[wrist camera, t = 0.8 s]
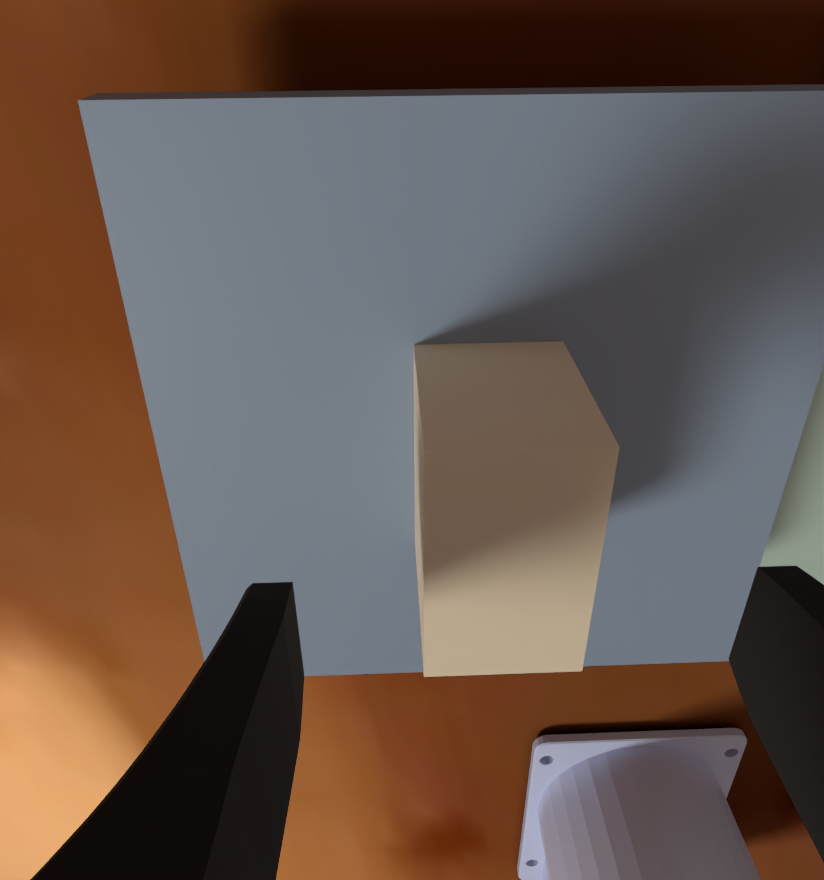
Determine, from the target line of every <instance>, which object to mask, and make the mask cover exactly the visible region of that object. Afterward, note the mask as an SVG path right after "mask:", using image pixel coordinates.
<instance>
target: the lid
mask: <svg viewBox="0 0 824 880" xmlns="http://www.w3.org/2000/svg"><path fill="white" fill-rule="evenodd" d="M78 103H79V108H80V112H81V117H82V121H83V125H84V130H85V134H86V139H87V143H88V148H89V152H90V156H91V161H92V165H93V170H94V174H95V179H96V183H97V187H98V192H99V196H100V201H101V205H102V210H103V214H104V218H105V223H106V227H107V232H108V236H109V241H110V245H111V249H112V254H113V258H114V263H115V267H116V272H117V276H118V280H119V285H120V289H121V294H122V298H123V303H124V307H125V311H126V316H127V320H128V325H129V329H130V334H131V338H132V342H133V347H134V351H135V356H136V360H137V365H138V369H139V373H140V378H141V382H142V387H143V391H144V396H145V400H146V405H147V409H148V413H149V418H150V422H151V427H152V431H153V436H154V440H155V444H156V449H157V453H158V458H159V462H160V467H161V471H162V475H163V480H164V484H165V489H166V493H167V498H168V502H169V506H170V511H171V515H172V520H173V524H174V529H175V533H176V537H177V542H178V546H179V551H180V555H181V560H182V564H183V568H184V573H185V577H186V582H187V586H188V591H189V595H190V599H191V604H192V608H193V613H194V617H195V622H196V626H197V630H198V635H199V639H200V644H201V648H202V653H203V657H204V661H205V660H206V659H207V657H208V656H209V654H210V652H211V651H212V649H213V647H214V646H215V644H216V642H217V641H218V639H219V638H220V636H221V634H222V633H223V631H224V629H225V627H226V626H227V624H228V622H229V620H230V619H231V617H232V615H233V613H234V611H235V610H236V608H237V606H238V604H239V602H240V600H241V598H242V596H243V594H244V592H245V590H246V589H247V588H248V587H249V586H250V585H251V584H252V583H275V582H293V588H294V596H295V604H296V613H297V621H298V629H299V637H300V645H301V653H302V661H303V669H304V676H323V675H351V674H379V673H407V672H424V677H434V676H462V675H490V674H518V673H545V672H573V671H582V669H583V666H604V665H632V664H660V663H688V662H716V661H729V656H730V653H731V649H732V646H733V643H734V640H735V637H736V634H737V631H738V627H739V624H740V621H741V618H742V615H743V612H744V609H745V605H746V602H747V599H748V596H749V593H750V590H751V586H752V583H753V580H754V577H755V574H756V571H757V568H758V567H760V564H761V560H762V557H763V554H764V551H765V548H766V545H767V542H768V538H769V535H770V532H771V529H772V526H773V523H774V519H775V516H776V513H777V510H778V507H779V504H780V501H781V497H782V494H783V491H784V488H785V485H786V482H787V479H788V475H789V472H790V469H791V466H792V463H793V460H794V457H795V453H796V450H797V447H798V444H799V441H800V438H801V435H802V431H803V428H804V425H805V422H806V419H807V416H808V413H809V409H810V406H811V403H812V400H813V397H814V394H815V391H816V387H817V384H818V381H819V378H820V375H821V372H822V369H823V365H824V84H805V85H725V86H645V87H565V88H485V89H405V90H325V91H246V92H166V93H97V94H95V95H92V96H89V97H86V98H83V99H80V100H78Z"/></svg>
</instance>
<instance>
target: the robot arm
mask: <svg viewBox="0 0 824 880" xmlns="http://www.w3.org/2000/svg"><path fill="white" fill-rule="evenodd" d="M729 662H730V664H731V667H732V670H733V673H734V676H735V679H736V682H737V685H738V688H739V690H740V693H741V696H742V699H743V701H744V704H745V706H746V709H747V712H748V714H749V717H750V719H751V722H752V724H753V726H754V728H755V730H756V732H757V734H758V736H759V738H760V740H761V742H762V744H763V746H764V748H765V750H766V752H767V754H768V756H769V758H770V760H771V762H772V763H773V765H774V767H775V769H776V771H777V773H778V775H779V777H780V779H781V781H782V783H783V785H784V787H785V789H786V791H787V792H788V794H789V796H790V798H791V800H792V802H793V804H794V806H795V808H796V810H797V812H798V814H799V816H800V817H801V819H802V821H803V823H804V825H805V827H806V829H807V831H808V833H809V835H810V837H811V839H812V840H813V842H814V844H815V846H816V848H817V850H818V852H819V854H820V856H821V858H822V860H823V862H824V585H823V584H822V583H820V582H819V581H818V580H816V579H815V578H814V577H812V576H811V575H809V574H808V573H806V572H805V571H804V570H802V569H801V568H799V567H798V566H768V567H758V568H757V571H756V574H755V577H754V580H753V583H752V586H751V590H750V593H749V596H748V599H747V602H746V605H745V609H744V612H743V615H742V618H741V621H740V624H739V627H738V631H737V634H736V637H735V640H734V643H733V646H732V649H731V653H730V656H729ZM303 685H304V669H303V661H302V653H301V645H300V637H299V629H298V621H297V613H296V604H295V596H294V588H293V582H275V583H252V584H251V585H250V586H249V587H248V588H247V589H246V590H245V592H244V594H243V596H242V598H241V600H240V602H239V604H238V606H237V608H236V610H235V611H234V613H233V615H232V617H231V619H230V620H229V622H228V624H227V626H226V627H225V629H224V631H223V633H222V634H221V636H220V638H219V639H218V641H217V642H216V644H215V646H214V647H213V649H212V651H211V652H210V654H209V656H208V657H207V659H206V660H205V662H204V663H203V665H202V666H201V668H200V669H199V671H198V673H197V674H196V676H195V677H194V679H193V680H192V682H191V683H190V685H189V686H188V688H187V689H186V691H185V692H184V694H183V695H182V697H181V698H180V700H179V701H178V703H177V704H176V706H175V707H174V708H173V710H172V711H171V713H170V714H169V715H168V717H167V718H166V719H165V721H164V722H163V723H162V725H161V726H160V728H159V729H158V730H157V732H156V733H155V734H154V736H153V737H152V739H151V740H150V741H149V743H148V744H147V745H146V747H145V748H144V749H143V751H142V752H141V753H140V755H139V756H138V757H137V759H136V760H135V761H134V762H133V764H132V765H131V766H130V767H129V769H128V770H127V771H126V773H125V774H124V775H123V776H122V777H121V779H120V780H119V781H118V782H117V784H116V785H115V786H114V787H113V789H112V790H111V791H110V792H109V793H108V794H107V796H106V797H105V798H104V799H103V800H102V802H101V803H100V804H99V805H98V806H97V807H96V809H95V810H94V811H93V812H92V813H91V814H90V816H89V817H88V818H87V819H86V820H85V821H84V822H83V824H82V825H81V826H80V827H79V828H78V829H77V830H76V831H75V832H74V833H73V835H72V836H71V837H70V838H69V839H68V840H67V841H66V842H65V843H64V844H63V845H62V847H61V848H60V849H59V850H58V851H57V852H56V853H55V854H54V855H53V856H52V857H51V859H50V860H49V861H48V862H47V863H46V864H45V865H44V866H43V867H42V868H41V869H40V870H39V871H38V872H37V873H36V874H35V876H34V877H33V878H32V879H31V880H276V874H277V869H278V863H279V857H280V851H281V846H282V840H283V834H284V829H285V823H286V817H287V811H288V806H289V800H290V794H291V788H292V783H293V777H294V771H295V765H296V759H297V753H298V747H299V741H300V731H301V717H302V702H303ZM746 744H747V739H746V737H745V735H744V733H743V731H742V730H740V729H738V728H712V729H686V730H660V731H634V732H608V733H581V734H555V735H543V736H540V737H538V738H537V739H536V740H535V741H534V742H533V746H532V754H531V762H530V770H529V778H528V786H527V794H526V802H525V810H524V818H523V826H522V834H521V842H520V850H519V858H518V866H517V870H518V876H519V878H520V879H521V880H761V879H760V876H759V874H758V872H757V869H756V867H755V865H754V862H753V860H752V858H751V855H750V853H749V851H748V849H747V846H746V844H745V842H744V839H743V837H742V835H741V832H740V830H739V828H738V825H737V823H736V821H735V818H734V816H733V814H732V811H731V809H730V807H729V805H728V802H727V800H726V799H727V796H728V793H729V790H730V788H731V785H732V782H733V780H734V777H735V774H736V771H737V769H738V766H739V763H740V761H741V758H742V755H743V752H744V750H745V747H746Z"/></svg>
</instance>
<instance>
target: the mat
mask: <svg viewBox="0 0 824 880" xmlns="http://www.w3.org/2000/svg"><path fill="white" fill-rule="evenodd" d="M768 566H798V567H799V568H801V569H802V570H804V571H805V572H806V573H808V574H809V575H811V576H812V577H814V578H815V579H816V580H818V581H819V582H820V583H822V584H823V585H824V365H823V369H822V372H821V375H820V378H819V381H818V384H817V387H816V391H815V394H814V397H813V400H812V403H811V406H810V409H809V413H808V416H807V419H806V422H805V425H804V428H803V431H802V435H801V438H800V441H799V444H798V447H797V450H796V453H795V457H794V460H793V463H792V466H791V469H790V472H789V475H788V479H787V482H786V485H785V488H784V491H783V494H782V497H781V501H780V504H779V507H778V510H777V513H776V516H775V519H774V523H773V526H772V529H771V532H770V535H769V538H768V542H767V545H766V548H765V551H764V554H763V557H762V560H761V564H760V567H768Z"/></svg>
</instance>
